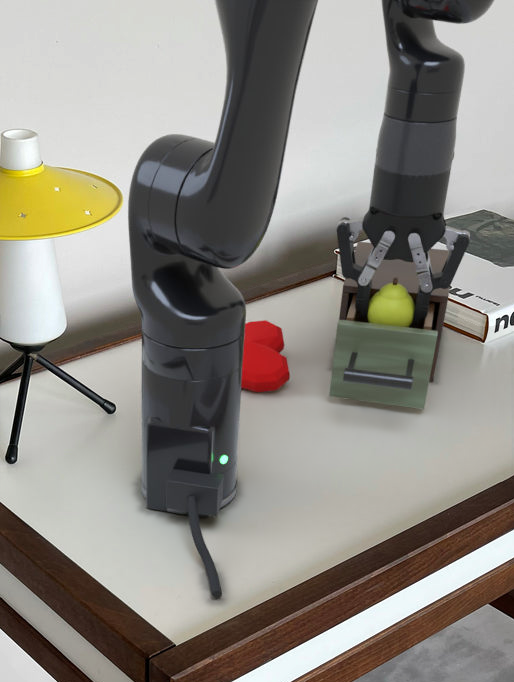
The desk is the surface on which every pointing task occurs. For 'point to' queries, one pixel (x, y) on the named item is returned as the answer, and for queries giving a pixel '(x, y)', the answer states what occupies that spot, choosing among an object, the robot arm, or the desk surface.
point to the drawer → (383, 360)
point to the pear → (391, 306)
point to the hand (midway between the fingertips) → (390, 317)
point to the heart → (263, 357)
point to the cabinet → (406, 279)
